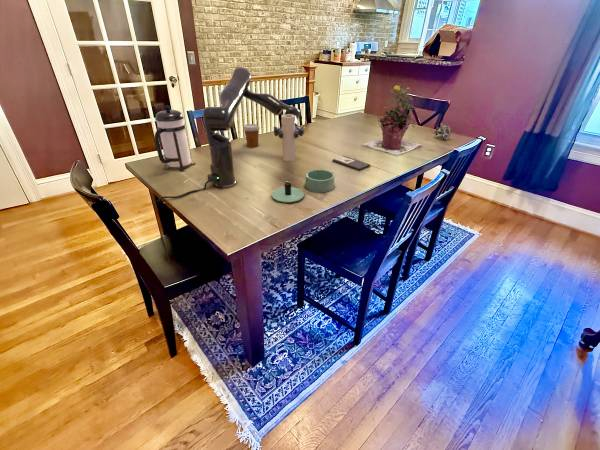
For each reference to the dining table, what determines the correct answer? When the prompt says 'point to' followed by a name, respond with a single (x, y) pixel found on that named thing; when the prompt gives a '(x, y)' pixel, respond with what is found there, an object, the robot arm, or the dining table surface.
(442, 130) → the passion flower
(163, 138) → the coffee press
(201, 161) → the dining table surface
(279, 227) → the dining table surface
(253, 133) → the disposable coffee cup
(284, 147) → the light brown hollow cylinder
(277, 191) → the lid
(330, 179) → the pot
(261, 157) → the dining table surface
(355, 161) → the chocolate bar
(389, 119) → the potted flower
